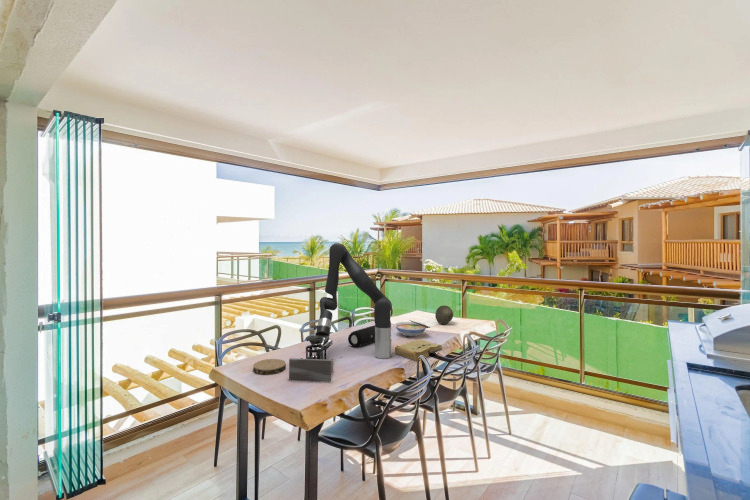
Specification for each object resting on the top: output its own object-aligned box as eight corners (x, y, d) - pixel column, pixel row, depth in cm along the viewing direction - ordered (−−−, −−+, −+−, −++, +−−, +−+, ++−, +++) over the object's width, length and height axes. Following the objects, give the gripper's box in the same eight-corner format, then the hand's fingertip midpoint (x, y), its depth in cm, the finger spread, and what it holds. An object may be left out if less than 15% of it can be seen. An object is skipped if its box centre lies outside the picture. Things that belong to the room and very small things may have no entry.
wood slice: (289, 372, 180) (289, 366, 180) (256, 377, 172) (256, 371, 172) (280, 362, 194) (280, 357, 194) (250, 367, 186) (250, 361, 186)
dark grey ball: (435, 325, 283) (435, 307, 282) (435, 321, 297) (435, 303, 296) (453, 326, 280) (453, 307, 280) (452, 322, 294) (452, 304, 294)
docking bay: (297, 369, 184) (297, 350, 183) (336, 370, 182) (336, 351, 182) (289, 380, 169) (289, 359, 169) (330, 381, 168) (330, 360, 168)
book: (415, 362, 198) (415, 351, 198) (394, 355, 210) (394, 344, 210) (442, 353, 215) (442, 343, 215) (421, 347, 227) (421, 337, 227)
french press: (308, 375, 175) (309, 329, 175) (300, 369, 183) (301, 325, 182) (329, 370, 182) (330, 326, 182) (321, 365, 190) (321, 322, 189)
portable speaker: (358, 349, 219) (359, 333, 219) (346, 346, 225) (347, 330, 225) (383, 340, 239) (383, 325, 239) (371, 338, 245) (372, 323, 245)
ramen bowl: (388, 332, 259) (388, 321, 259) (415, 329, 269) (415, 319, 269) (405, 341, 237) (405, 329, 237) (434, 338, 246) (434, 326, 246)
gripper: (310, 324, 196) (304, 353, 185) (334, 325, 195) (329, 354, 184) (313, 331, 202) (307, 359, 190) (336, 332, 201) (331, 361, 189)
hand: (318, 357), depth 187 cm, fingers closed
